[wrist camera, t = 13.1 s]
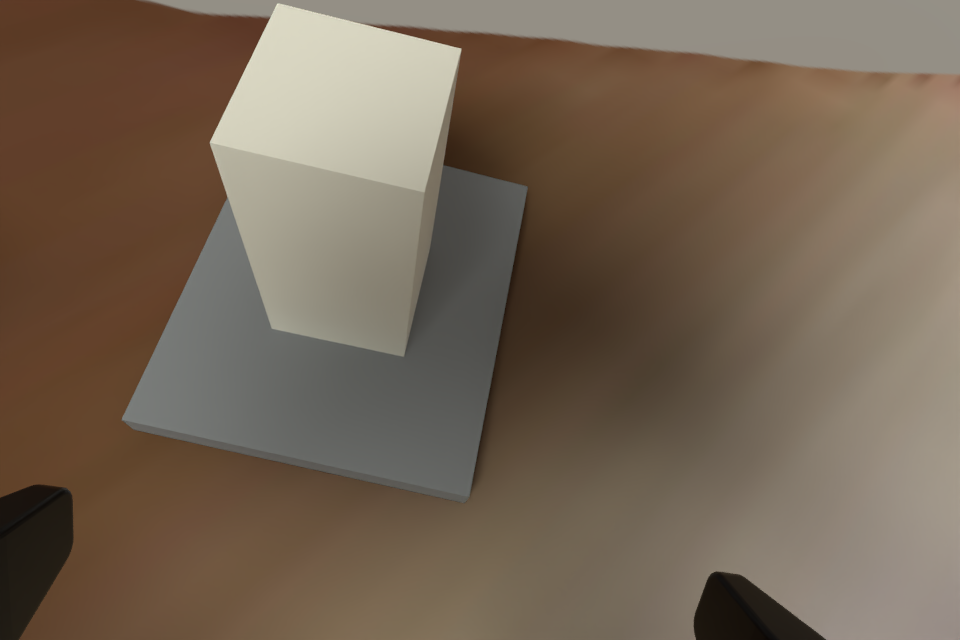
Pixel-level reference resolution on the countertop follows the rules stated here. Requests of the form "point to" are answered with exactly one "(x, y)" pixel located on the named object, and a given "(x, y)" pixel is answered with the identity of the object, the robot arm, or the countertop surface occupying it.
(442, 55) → the cream brick
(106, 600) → the countertop surface
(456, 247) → the grey flat plate
